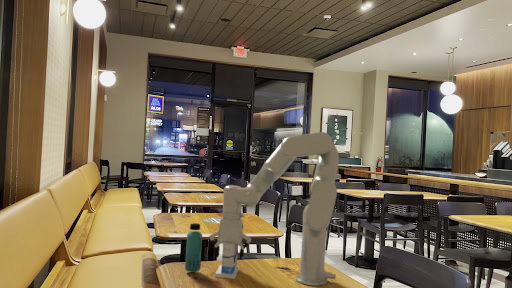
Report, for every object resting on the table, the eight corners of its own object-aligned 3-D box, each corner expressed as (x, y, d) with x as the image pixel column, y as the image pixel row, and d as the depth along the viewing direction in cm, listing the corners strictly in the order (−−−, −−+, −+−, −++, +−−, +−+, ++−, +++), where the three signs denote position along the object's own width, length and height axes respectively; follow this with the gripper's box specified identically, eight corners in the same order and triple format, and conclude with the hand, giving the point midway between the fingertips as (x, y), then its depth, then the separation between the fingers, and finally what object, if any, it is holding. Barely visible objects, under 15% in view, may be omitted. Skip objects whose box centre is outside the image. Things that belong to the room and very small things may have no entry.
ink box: (232, 274, 157) (234, 244, 157) (220, 273, 157) (222, 243, 157) (237, 267, 165) (238, 239, 165) (225, 266, 166) (227, 238, 166)
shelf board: (238, 269, 167) (238, 266, 167) (234, 278, 156) (235, 275, 156) (220, 268, 168) (220, 264, 168) (215, 277, 157) (215, 273, 157)
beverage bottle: (186, 276, 156) (189, 225, 156) (182, 270, 162) (185, 222, 162) (202, 274, 158) (205, 225, 158) (198, 269, 165) (200, 221, 164)
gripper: (253, 215, 164) (251, 256, 164) (212, 212, 166) (210, 253, 166) (251, 219, 157) (249, 262, 157) (208, 215, 158) (206, 258, 158)
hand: (229, 257), depth 161 cm, fingers open, 9 cm apart
